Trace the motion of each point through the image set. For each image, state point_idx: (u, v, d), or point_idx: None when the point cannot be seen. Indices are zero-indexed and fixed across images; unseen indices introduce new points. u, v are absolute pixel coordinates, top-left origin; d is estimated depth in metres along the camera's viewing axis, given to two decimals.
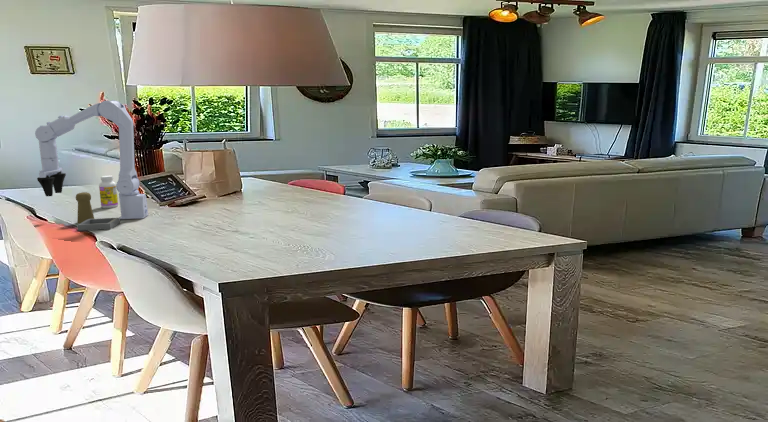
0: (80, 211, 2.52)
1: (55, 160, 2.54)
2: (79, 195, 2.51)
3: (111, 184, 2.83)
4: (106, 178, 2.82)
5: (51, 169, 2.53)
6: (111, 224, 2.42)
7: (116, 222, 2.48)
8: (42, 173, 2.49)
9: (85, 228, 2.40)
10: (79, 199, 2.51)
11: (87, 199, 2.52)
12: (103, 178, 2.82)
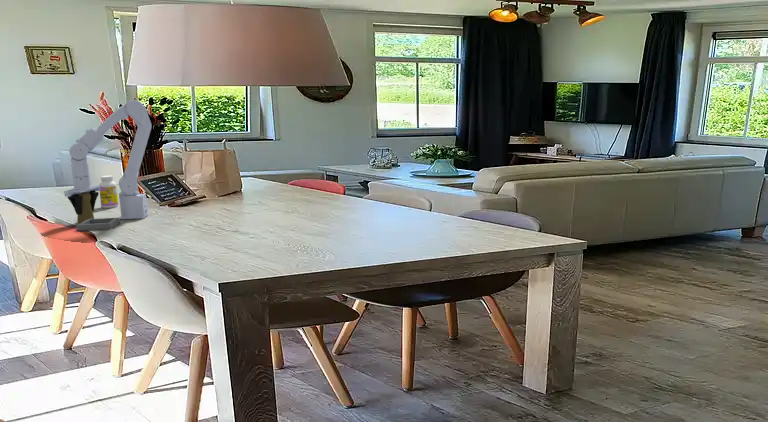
0: None
1: (84, 179, 2.50)
2: (79, 195, 2.51)
3: (111, 184, 2.83)
4: (106, 178, 2.82)
5: (79, 188, 2.50)
6: (111, 224, 2.42)
7: (116, 222, 2.48)
8: (66, 192, 2.47)
9: (85, 228, 2.40)
10: None
11: (87, 199, 2.52)
12: (103, 178, 2.82)
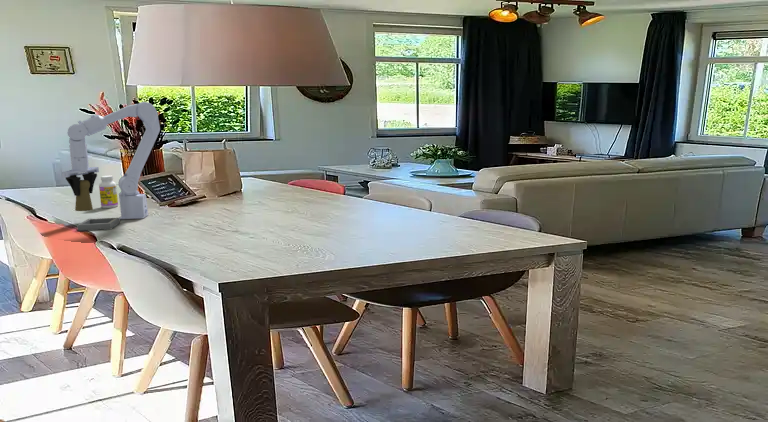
0: (78, 198, 2.51)
1: (82, 160, 2.49)
2: None
3: (111, 184, 2.83)
4: (106, 178, 2.82)
5: (77, 169, 2.49)
6: (111, 224, 2.42)
7: (116, 222, 2.48)
8: (64, 173, 2.45)
9: (85, 228, 2.40)
10: None
11: (85, 187, 2.51)
12: (103, 178, 2.82)
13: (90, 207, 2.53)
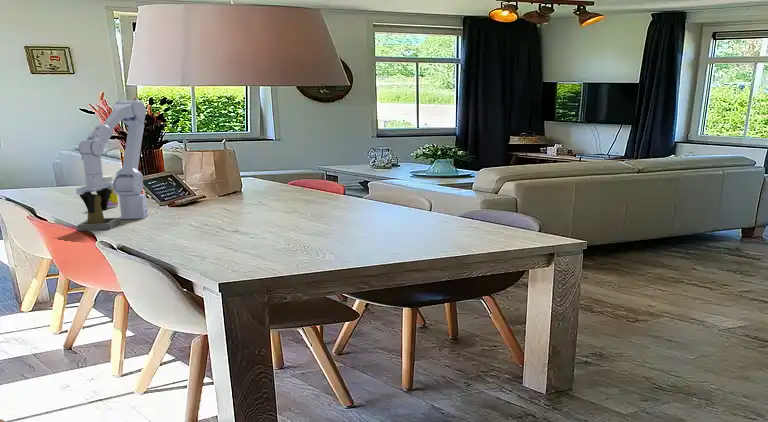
0: (90, 214, 2.43)
1: (96, 176, 2.40)
2: None
3: None
4: (106, 178, 2.82)
5: (92, 185, 2.40)
6: (111, 224, 2.42)
7: (116, 222, 2.48)
8: (78, 190, 2.36)
9: (85, 228, 2.40)
10: None
11: (97, 201, 2.43)
12: (103, 178, 2.82)
13: (103, 222, 2.45)
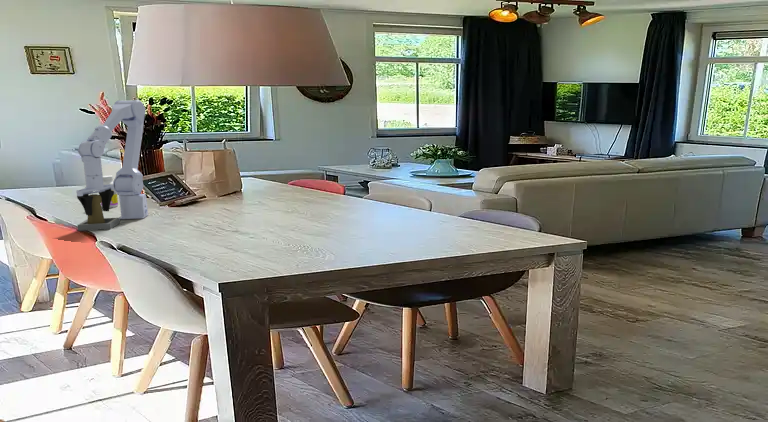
0: None
1: (96, 178, 2.40)
2: None
3: (111, 184, 2.83)
4: (106, 178, 2.82)
5: (92, 187, 2.40)
6: (111, 224, 2.42)
7: (116, 222, 2.48)
8: (78, 191, 2.37)
9: (85, 228, 2.40)
10: None
11: (97, 201, 2.43)
12: (103, 178, 2.82)
13: (103, 222, 2.45)
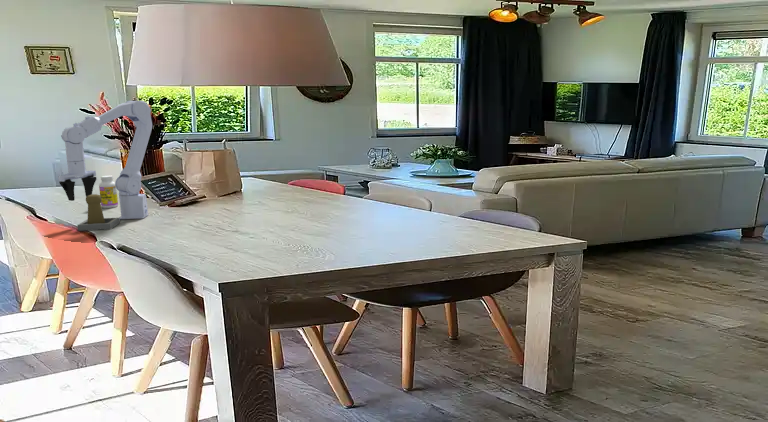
0: (90, 214, 2.43)
1: (79, 163, 2.43)
2: (89, 197, 2.42)
3: (111, 184, 2.83)
4: (106, 178, 2.82)
5: (74, 172, 2.43)
6: (111, 224, 2.42)
7: (116, 222, 2.48)
8: (60, 177, 2.39)
9: (85, 228, 2.40)
10: (89, 201, 2.42)
11: (97, 201, 2.43)
12: (103, 178, 2.82)
13: (103, 222, 2.45)
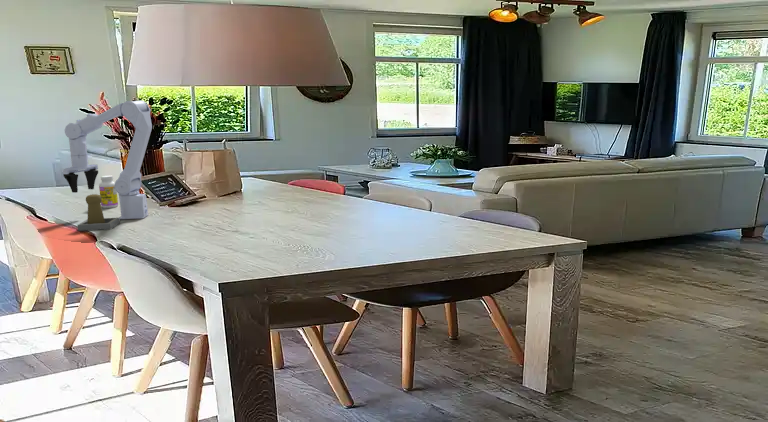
0: (90, 214, 2.43)
1: (82, 157, 2.58)
2: (89, 197, 2.42)
3: (111, 184, 2.83)
4: (106, 178, 2.82)
5: (77, 166, 2.57)
6: (111, 224, 2.42)
7: (116, 222, 2.48)
8: (65, 170, 2.54)
9: (85, 228, 2.40)
10: (89, 201, 2.42)
11: (97, 201, 2.43)
12: (103, 178, 2.82)
13: (103, 222, 2.45)
